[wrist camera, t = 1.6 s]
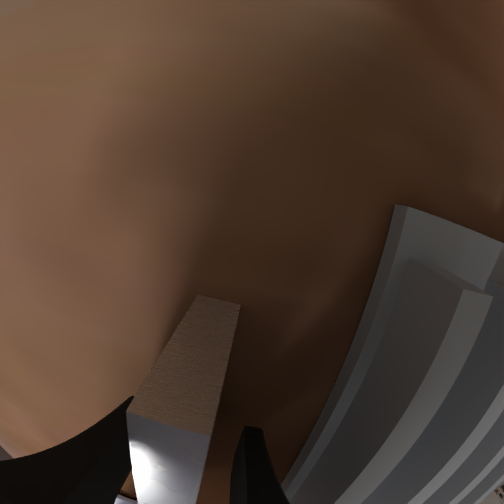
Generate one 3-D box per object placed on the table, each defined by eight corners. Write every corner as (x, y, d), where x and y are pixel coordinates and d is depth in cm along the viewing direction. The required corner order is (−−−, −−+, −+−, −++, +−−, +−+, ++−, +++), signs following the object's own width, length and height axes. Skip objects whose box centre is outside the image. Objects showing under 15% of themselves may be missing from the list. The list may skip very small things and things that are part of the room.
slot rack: (433, 498, 13) (455, 557, 6) (263, 510, 13) (258, 596, 6) (568, 277, 9) (644, 316, 2) (395, 204, 9) (572, 246, 2)
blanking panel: (204, 466, 12) (183, 558, 6) (177, 459, 12) (148, 548, 6) (241, 303, 10) (210, 435, 4) (198, 293, 10) (125, 411, 4)
